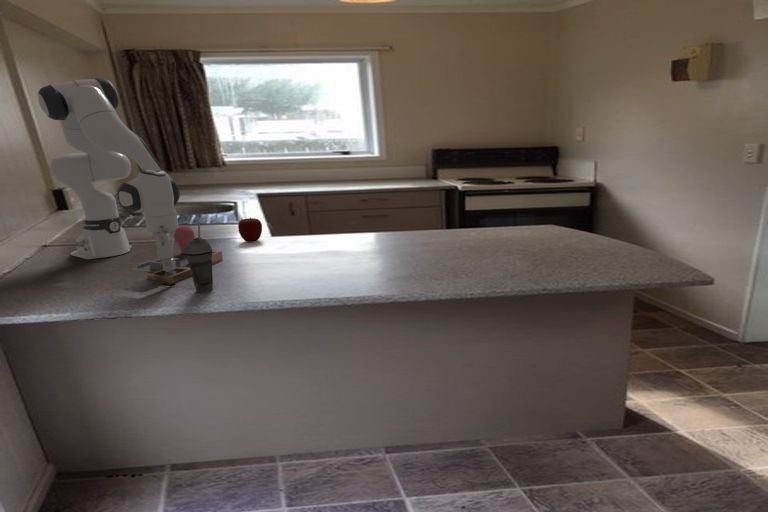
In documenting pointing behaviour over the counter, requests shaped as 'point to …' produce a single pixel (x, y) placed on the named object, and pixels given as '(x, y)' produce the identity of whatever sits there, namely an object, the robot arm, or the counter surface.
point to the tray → (170, 279)
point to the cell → (174, 270)
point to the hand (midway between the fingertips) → (169, 267)
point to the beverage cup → (200, 263)
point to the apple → (250, 229)
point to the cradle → (154, 265)
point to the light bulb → (183, 236)
